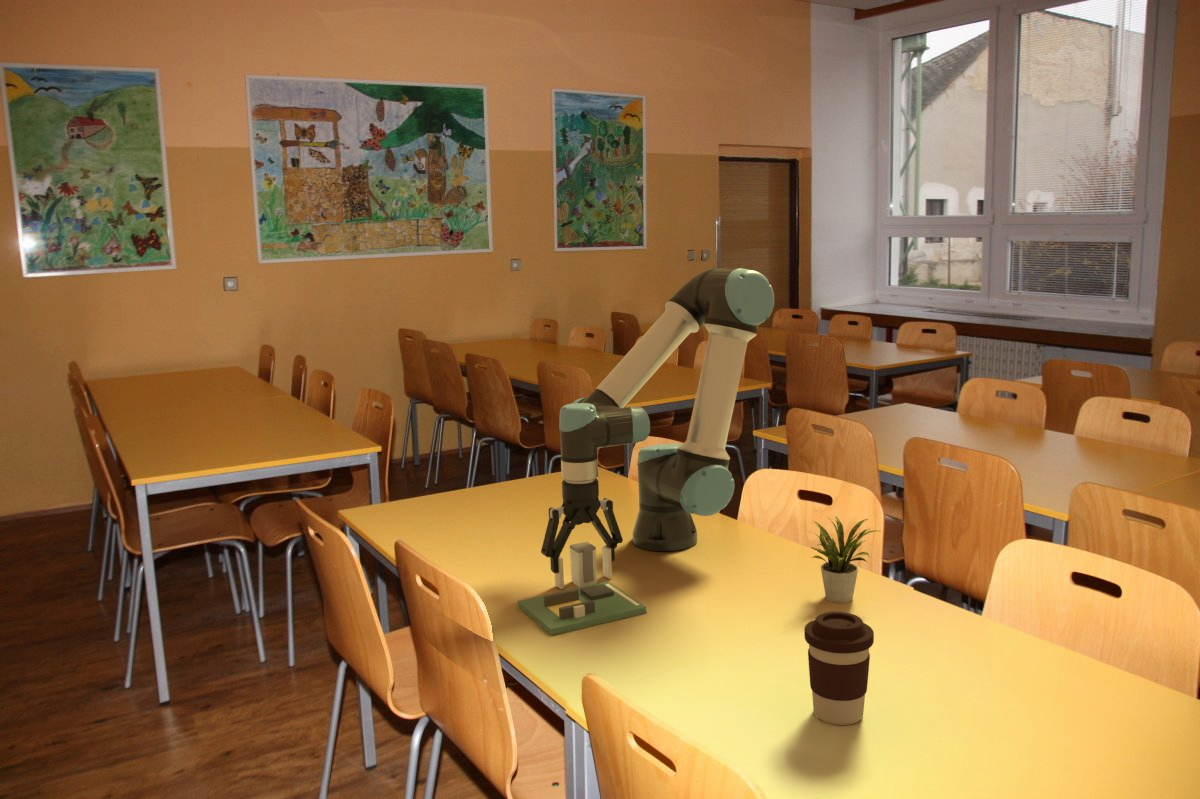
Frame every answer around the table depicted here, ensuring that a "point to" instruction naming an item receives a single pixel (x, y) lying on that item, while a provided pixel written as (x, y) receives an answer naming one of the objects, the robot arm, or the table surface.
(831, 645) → the coffee cup
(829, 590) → the house plant
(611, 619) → the board
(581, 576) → the plug
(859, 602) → the table surface
